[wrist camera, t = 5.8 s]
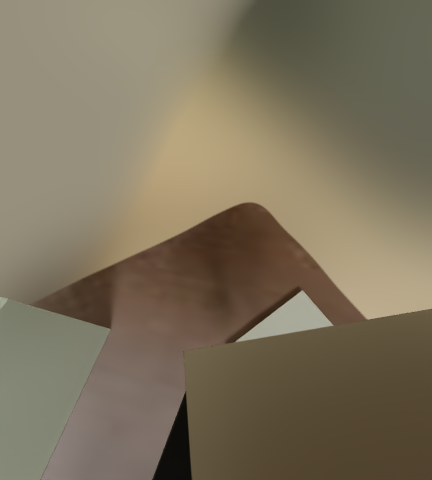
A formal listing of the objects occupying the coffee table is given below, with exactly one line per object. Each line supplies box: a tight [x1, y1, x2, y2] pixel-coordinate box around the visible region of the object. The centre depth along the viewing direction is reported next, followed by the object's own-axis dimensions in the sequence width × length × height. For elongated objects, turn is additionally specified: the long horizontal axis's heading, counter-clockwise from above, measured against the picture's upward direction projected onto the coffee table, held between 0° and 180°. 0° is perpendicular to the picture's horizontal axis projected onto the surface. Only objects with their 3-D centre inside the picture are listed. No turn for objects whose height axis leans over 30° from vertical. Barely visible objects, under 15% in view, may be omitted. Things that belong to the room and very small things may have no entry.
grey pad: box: [235, 290, 333, 342], centre depth 19 cm, size 12×10×1 cm
